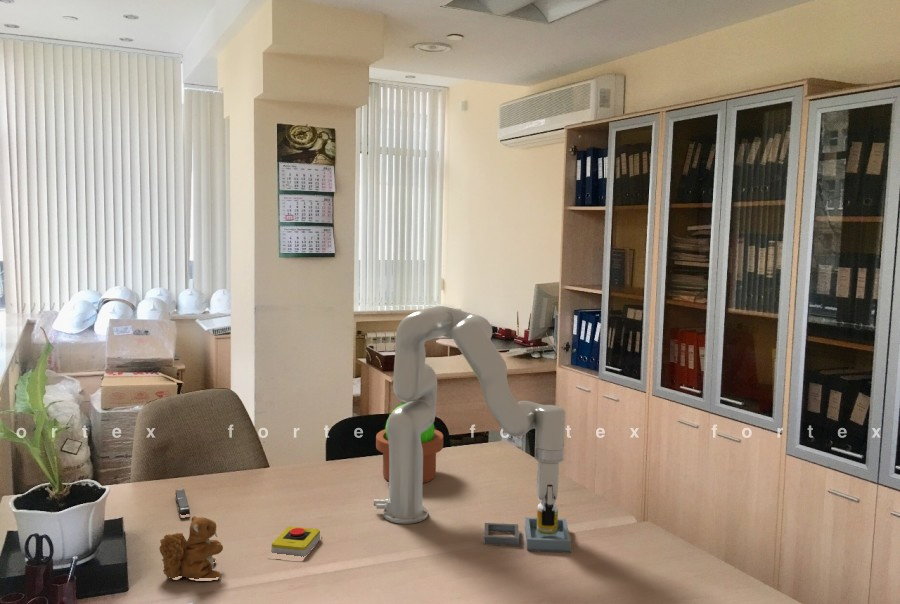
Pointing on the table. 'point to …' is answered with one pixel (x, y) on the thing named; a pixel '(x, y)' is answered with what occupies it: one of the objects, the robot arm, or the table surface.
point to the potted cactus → (430, 445)
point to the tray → (547, 537)
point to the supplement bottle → (546, 529)
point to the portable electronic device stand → (182, 502)
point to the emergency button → (296, 541)
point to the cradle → (501, 539)
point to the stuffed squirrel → (191, 551)
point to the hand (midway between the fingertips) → (547, 519)
